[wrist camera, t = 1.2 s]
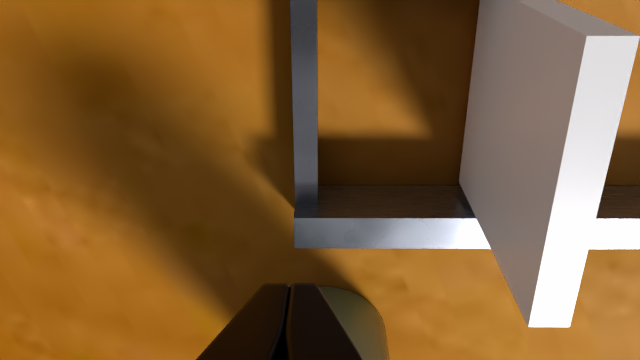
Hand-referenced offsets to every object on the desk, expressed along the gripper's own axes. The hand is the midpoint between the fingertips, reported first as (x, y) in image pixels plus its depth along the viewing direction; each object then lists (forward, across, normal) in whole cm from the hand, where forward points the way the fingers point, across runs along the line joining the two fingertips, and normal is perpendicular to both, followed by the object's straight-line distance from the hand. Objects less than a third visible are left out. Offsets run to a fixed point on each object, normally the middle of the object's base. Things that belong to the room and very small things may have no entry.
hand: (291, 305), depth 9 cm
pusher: (+12, -6, 0) cm, 13 cm away
